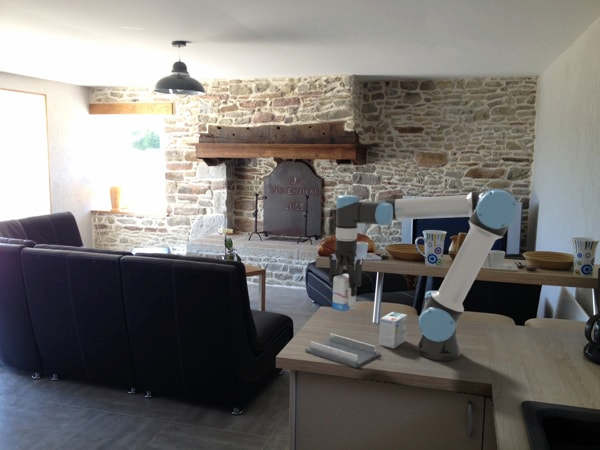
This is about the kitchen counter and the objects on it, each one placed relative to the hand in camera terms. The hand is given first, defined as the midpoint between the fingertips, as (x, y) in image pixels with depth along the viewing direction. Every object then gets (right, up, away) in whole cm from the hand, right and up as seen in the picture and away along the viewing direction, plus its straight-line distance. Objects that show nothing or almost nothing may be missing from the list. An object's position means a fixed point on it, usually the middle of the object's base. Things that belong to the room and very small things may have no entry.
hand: (344, 303), depth 189 cm
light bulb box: (+20, -18, +14) cm, 30 cm away
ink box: (0, -2, 0) cm, 2 cm away
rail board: (0, -19, +2) cm, 19 cm away
